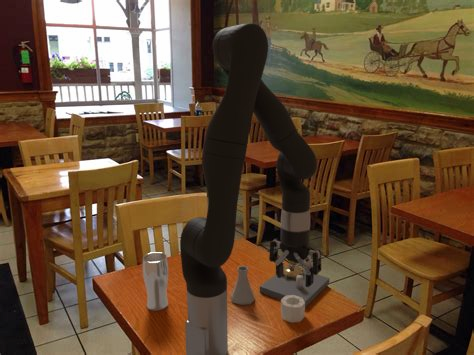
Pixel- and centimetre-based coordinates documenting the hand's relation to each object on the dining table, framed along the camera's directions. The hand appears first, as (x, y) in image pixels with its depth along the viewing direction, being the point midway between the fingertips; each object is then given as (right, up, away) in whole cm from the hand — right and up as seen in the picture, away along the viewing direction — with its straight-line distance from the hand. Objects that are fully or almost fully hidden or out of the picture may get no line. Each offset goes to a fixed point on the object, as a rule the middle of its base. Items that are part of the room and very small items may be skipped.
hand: (294, 281), depth 110 cm
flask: (-14, -8, +11) cm, 19 cm away
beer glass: (-38, -9, +8) cm, 40 cm away
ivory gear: (0, -10, +2) cm, 10 cm away
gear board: (+3, -6, +17) cm, 18 cm away
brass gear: (+2, -3, +21) cm, 22 cm away
